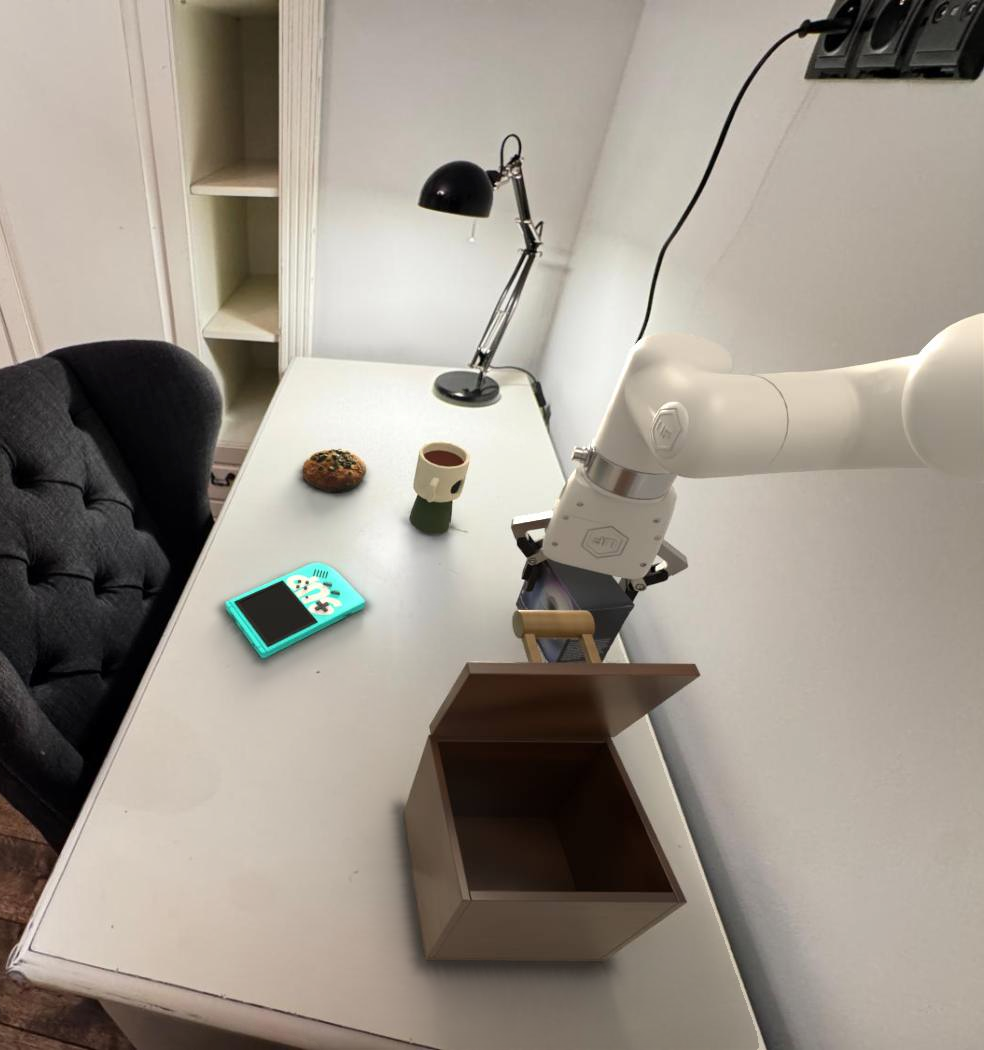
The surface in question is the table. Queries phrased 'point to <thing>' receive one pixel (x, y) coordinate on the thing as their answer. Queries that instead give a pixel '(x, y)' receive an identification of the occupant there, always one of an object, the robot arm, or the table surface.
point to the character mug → (438, 485)
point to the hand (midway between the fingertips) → (571, 594)
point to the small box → (577, 607)
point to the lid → (556, 687)
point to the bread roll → (334, 470)
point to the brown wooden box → (532, 850)
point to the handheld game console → (293, 607)
